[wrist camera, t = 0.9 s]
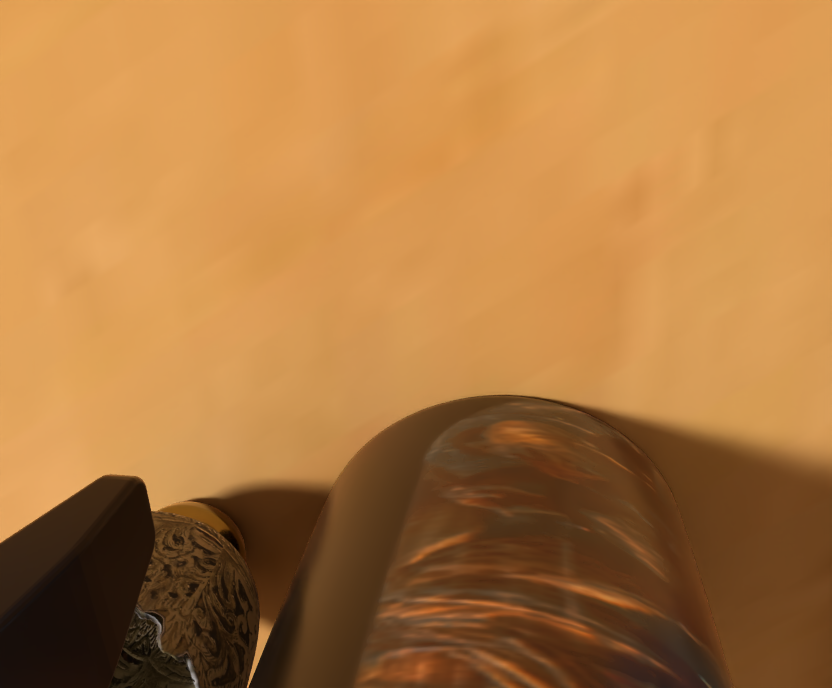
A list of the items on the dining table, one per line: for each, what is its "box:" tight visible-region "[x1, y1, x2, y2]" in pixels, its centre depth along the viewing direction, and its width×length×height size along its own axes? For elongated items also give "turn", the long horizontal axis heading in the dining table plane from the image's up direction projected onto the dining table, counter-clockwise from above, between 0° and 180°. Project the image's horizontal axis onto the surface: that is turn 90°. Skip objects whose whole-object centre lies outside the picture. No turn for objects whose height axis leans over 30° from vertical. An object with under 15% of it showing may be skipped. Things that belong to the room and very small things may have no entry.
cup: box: [109, 501, 260, 688], centre depth 24 cm, size 8×7×8 cm
